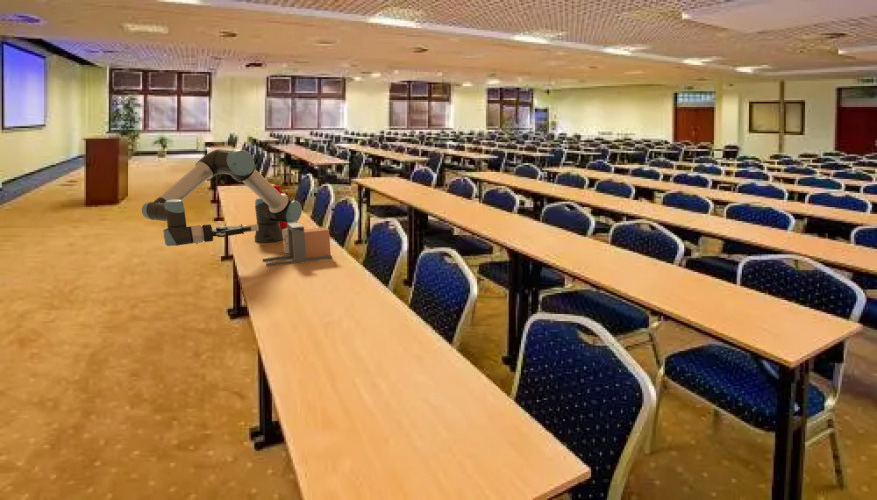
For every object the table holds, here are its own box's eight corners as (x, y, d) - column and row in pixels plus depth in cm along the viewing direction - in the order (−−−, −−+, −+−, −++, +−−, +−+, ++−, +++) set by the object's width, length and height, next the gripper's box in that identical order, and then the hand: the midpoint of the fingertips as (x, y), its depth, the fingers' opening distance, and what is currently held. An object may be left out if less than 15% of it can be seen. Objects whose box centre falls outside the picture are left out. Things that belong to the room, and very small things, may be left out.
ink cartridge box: (291, 249, 306) (288, 220, 303) (300, 249, 305) (298, 220, 302) (283, 253, 298) (281, 223, 295) (292, 253, 297) (290, 223, 294)
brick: (296, 260, 282) (294, 233, 279) (293, 257, 288) (291, 230, 285) (330, 256, 288) (329, 229, 285) (326, 253, 294) (325, 227, 291)
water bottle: (292, 226, 363) (289, 184, 357) (282, 229, 353) (279, 186, 347) (279, 225, 366) (276, 183, 360) (268, 229, 356) (265, 186, 350)
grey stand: (267, 266, 273) (264, 230, 270) (262, 260, 285) (259, 225, 281) (332, 258, 286) (330, 224, 282) (325, 253, 297) (323, 219, 293)
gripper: (202, 238, 273) (256, 232, 283) (205, 245, 262) (261, 238, 271) (200, 222, 271) (254, 216, 281) (202, 228, 260) (259, 221, 269)
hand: (258, 227), depth 276 cm, fingers closed
